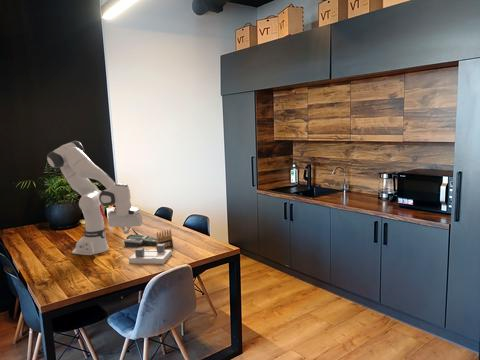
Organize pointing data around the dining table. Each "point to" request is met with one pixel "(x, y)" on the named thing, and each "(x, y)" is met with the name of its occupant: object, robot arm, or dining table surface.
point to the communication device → (139, 240)
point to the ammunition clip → (165, 239)
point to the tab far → (160, 247)
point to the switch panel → (151, 257)
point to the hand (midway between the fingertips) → (126, 233)
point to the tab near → (139, 252)
